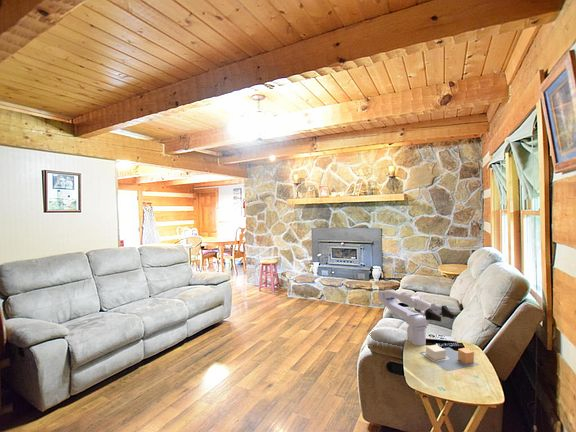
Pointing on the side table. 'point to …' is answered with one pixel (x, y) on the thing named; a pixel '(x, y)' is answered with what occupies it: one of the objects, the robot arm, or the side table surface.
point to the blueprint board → (449, 360)
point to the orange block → (465, 355)
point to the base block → (435, 352)
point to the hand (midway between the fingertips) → (447, 318)
